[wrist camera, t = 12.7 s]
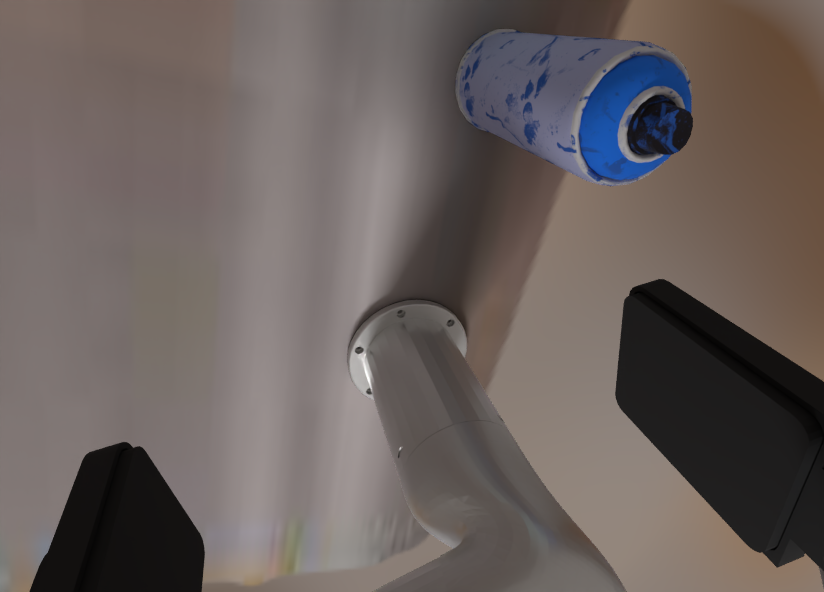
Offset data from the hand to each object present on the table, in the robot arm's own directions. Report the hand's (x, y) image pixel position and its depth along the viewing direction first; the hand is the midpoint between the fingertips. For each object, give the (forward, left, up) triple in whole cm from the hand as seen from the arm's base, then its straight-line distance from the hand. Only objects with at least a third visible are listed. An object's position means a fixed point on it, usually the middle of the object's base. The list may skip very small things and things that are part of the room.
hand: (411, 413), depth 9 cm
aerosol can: (-1, -17, -34) cm, 38 cm away
